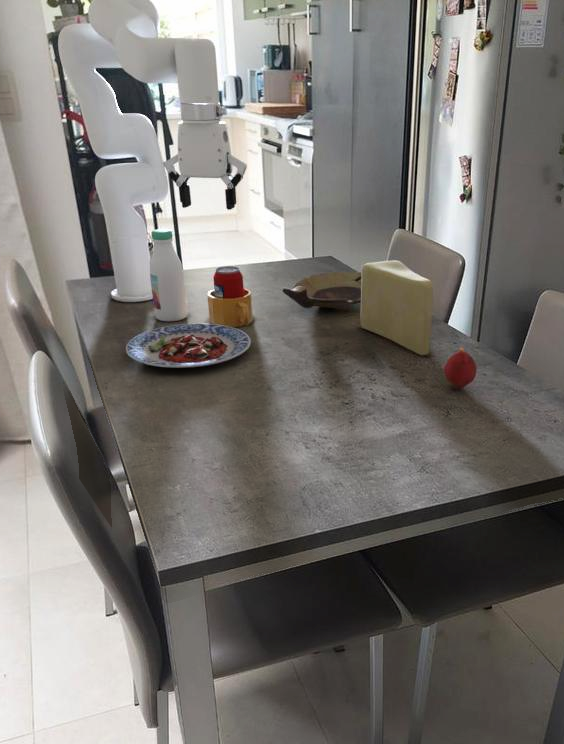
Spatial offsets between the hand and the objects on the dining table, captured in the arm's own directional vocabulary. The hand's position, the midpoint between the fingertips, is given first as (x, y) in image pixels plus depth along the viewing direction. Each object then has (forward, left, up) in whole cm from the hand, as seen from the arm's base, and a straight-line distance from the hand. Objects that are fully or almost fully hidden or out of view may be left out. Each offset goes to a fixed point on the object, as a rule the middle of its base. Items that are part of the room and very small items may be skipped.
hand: (208, 207), depth 143 cm
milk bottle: (-17, -5, -27) cm, 32 cm away
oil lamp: (-5, +32, -27) cm, 43 cm away
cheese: (+26, +32, -27) cm, 49 cm away
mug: (-5, +6, -27) cm, 28 cm away
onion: (+53, +24, -27) cm, 64 cm away
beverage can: (-7, +6, -27) cm, 29 cm away
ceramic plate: (+8, -11, -27) cm, 30 cm away
